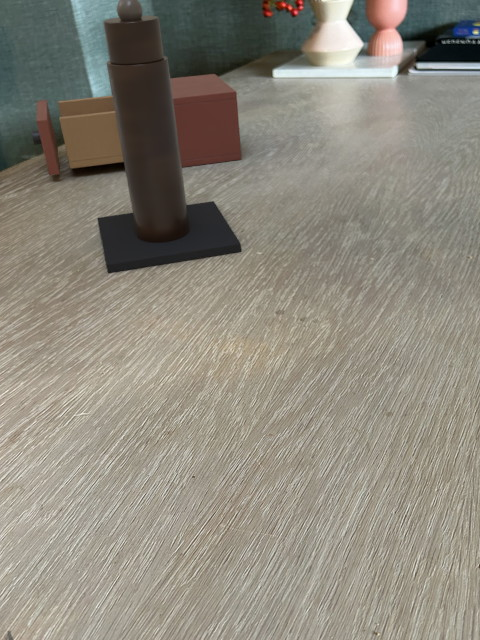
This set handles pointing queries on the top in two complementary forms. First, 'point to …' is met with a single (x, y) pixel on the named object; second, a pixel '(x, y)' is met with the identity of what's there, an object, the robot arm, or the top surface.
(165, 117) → the pepper mill
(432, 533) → the top surface
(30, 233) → the top surface
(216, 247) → the plate
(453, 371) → the top surface
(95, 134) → the drawer
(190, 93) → the cabinet
